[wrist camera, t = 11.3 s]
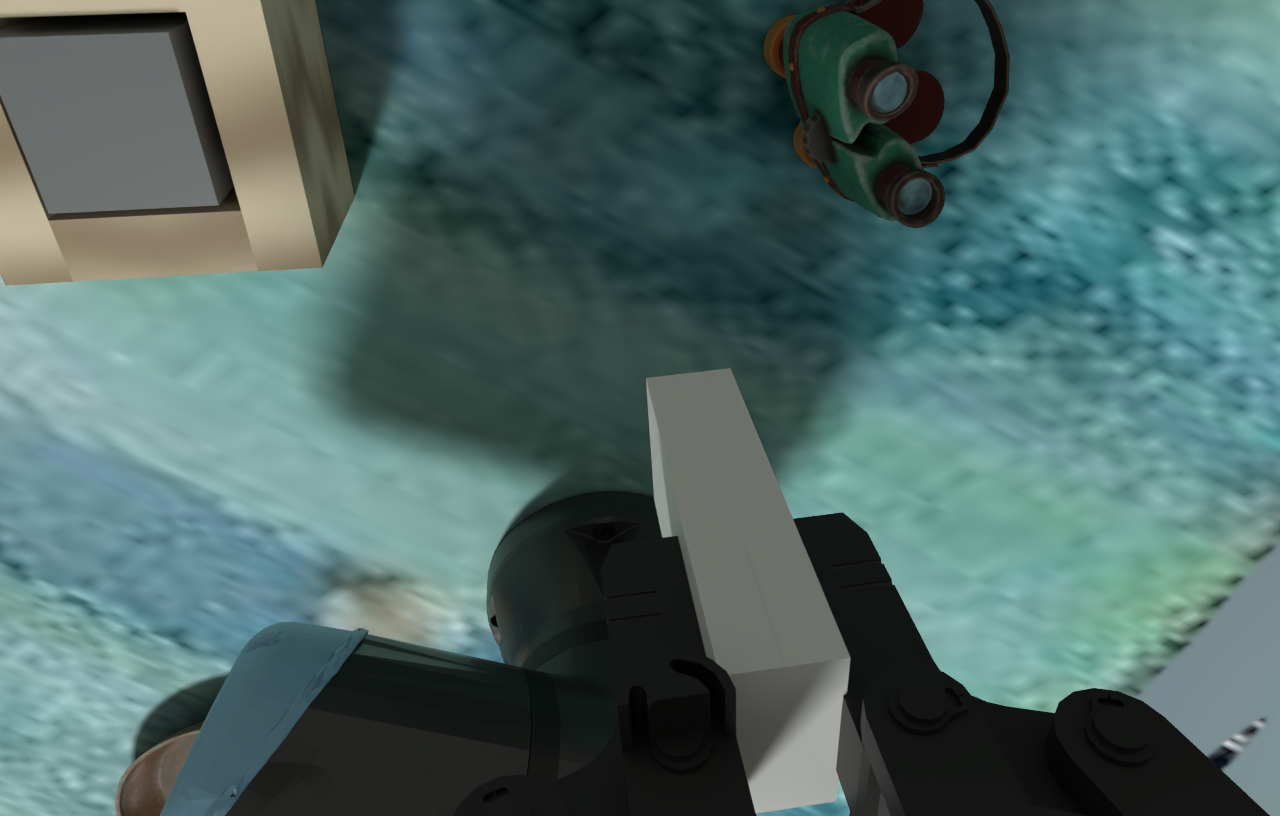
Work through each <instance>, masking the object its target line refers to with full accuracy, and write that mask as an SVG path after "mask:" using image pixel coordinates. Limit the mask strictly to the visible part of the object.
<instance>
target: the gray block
mask: <svg viewBox="0 0 1280 816" xmlns="http://www.w3.org/2000/svg"><path fill="white" fill-rule="evenodd" d="M0 96H1V98H2V100H3V103H4V105H5V108H6V110H7V113H8V115H9V118H10V120H11V122H12V125H13V127H14V130H15V132H16V135H17V137H18V140H19V142H20V145H21V147H22V149H23V152H24V154H25V157H26V159H27V162H28V164H29V167H30V169H31V172H32V174H33V176H34V179H35V181H36V184H37V186H38V189H39V191H40V194H41V196H42V199H43V201H44V203H45V206H46V208H47V211H48V213H49V214H56V213H76V212H96V211H116V210H136V209H156V208H176V207H196V206H216V205H219V204H220V203H221V202H222V201H223V199H224V198H225V197H226V196H227V194H228V193H229V192H230V191H231V189H232V188H233V187H234V183H233V180H232V176H231V173H230V169H229V165H228V162H227V158H226V155H225V151H224V147H223V144H222V140H221V137H220V133H219V130H218V126H217V122H216V119H215V115H214V112H213V108H212V104H211V101H210V97H209V94H208V90H207V86H206V83H205V79H204V76H203V72H202V69H201V65H200V61H199V58H198V54H197V51H196V47H195V43H194V40H193V36H192V33H191V29H190V25H189V22H188V18H187V15H186V12H165V13H134V14H102V15H71V16H39V17H32V18H29V19H27V20H24V21H22V22H19V23H16V24H14V25H11V26H9V27H6V28H3V29H1V30H0Z"/></svg>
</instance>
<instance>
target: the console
mask: <svg viewBox="0 0 1280 816" xmlns="http://www.w3.org/2000/svg"><path fill="white" fill-rule="evenodd" d="M165 12H186V15H187V18H188V22H189V25H190V29H191V33H192V36H193V40H194V43H195V47H196V51H197V54H198V58H199V61H200V65H201V69H202V72H203V76H204V79H205V83H206V86H207V90H208V94H209V97H210V101H211V104H212V108H213V112H214V115H215V119H216V122H217V126H218V130H219V133H220V137H221V140H222V144H223V147H224V151H225V155H226V158H227V162H228V165H229V169H230V173H231V176H232V180H233V183H234V187H233V188H232V189H231V191H230V192H229V193H228V194H227V196H226V197H225V198H224V199H223V201H222V202H221V203H220V204H219V205H216V206H196V207H176V208H156V209H136V210H116V211H96V212H76V213H56V214H49V213H48V211H47V208H46V206H45V203H44V201H43V199H42V196H41V194H40V191H39V189H38V186H37V184H36V181H35V179H34V176H33V174H32V172H31V169H30V167H29V164H28V162H27V159H26V157H25V154H24V152H23V149H22V147H21V145H20V142H19V140H18V137H17V135H16V132H15V130H14V127H13V125H12V122H11V120H10V118H9V115H8V113H7V110H6V108H5V105H4V103H3V100H2V98H1V96H0V274H1V277H2V279H3V281H4V283H5V285H20V284H37V283H55V282H73V281H90V280H108V279H126V278H144V277H161V276H179V275H197V274H214V273H232V272H250V271H268V270H285V269H303V268H321V267H323V265H324V263H325V261H326V259H327V256H328V254H329V252H330V250H331V248H332V245H333V243H334V241H335V239H336V237H337V234H338V232H339V230H340V228H341V226H342V223H343V221H344V219H345V217H346V215H347V213H348V210H349V208H350V206H351V204H352V202H353V199H354V192H353V187H352V182H351V177H350V172H349V167H348V162H347V157H346V152H345V147H344V142H343V137H342V132H341V127H340V122H339V117H338V112H337V107H336V102H335V97H334V92H333V87H332V83H331V78H330V73H329V68H328V63H327V58H326V53H325V48H324V43H323V38H322V33H321V28H320V23H319V18H318V13H317V8H316V3H315V0H0V30H1V29H3V28H6V27H9V26H11V25H14V24H16V23H19V22H22V21H24V20H27V19H29V18H32V17H39V16H71V15H102V14H134V13H165Z"/></svg>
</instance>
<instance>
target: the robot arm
mask: <svg viewBox="0 0 1280 816" xmlns="http://www.w3.org/2000/svg"><path fill="white" fill-rule="evenodd" d="M646 387H647V402H648V416H649V431H650V445H651V460H652V474H653V489H654V498H652V497H649V496H644V495H639V494H633V493H623V492H603V493H593V494H586V495H581V496H576V497H572V498H568V499H565V500H562V501H559V502H557V503H554V504H551V505H549V506H547V507H545V508H543V509H541V510H539V511H537V512H535V513H534V514H532V515H531V516H529V517H528V518H526V519H525V520H523V521H522V522H521V523H520V524H518V525H517V526H516V527H515V528H514V529H513V530H512V531H511V532H510V533H509V534H508V535H507V536H506V537H505V539H504V540H503V541H502V543H501V544H500V545H499V547H498V549H497V550H496V552H495V554H494V556H493V559H492V561H491V564H490V568H489V572H488V581H487V604H486V605H487V615H488V621H489V625H490V628H491V630H492V633H493V636H494V638H495V640H496V642H497V644H498V645H499V647H500V651H501V655H502V658H503V661H504V663H505V664H504V663H499V662H494V661H490V660H485V659H480V658H476V657H471V656H466V655H462V654H457V653H452V652H448V651H443V650H438V649H434V648H429V647H424V646H420V645H415V644H410V643H406V642H401V641H397V640H392V639H387V638H383V637H378V636H373V635H369V634H368V630H365V629H362V628H358V629H356V630H354V631H348V630H342V629H336V628H329V627H323V626H317V625H311V624H305V623H298V622H282V623H277V624H274V625H271V626H269V627H267V628H265V629H263V630H261V631H260V632H258V633H257V634H256V635H255V636H254V637H253V638H252V639H251V640H250V641H249V642H248V643H247V644H246V646H245V647H244V648H243V650H242V652H241V653H240V655H239V657H238V658H237V660H236V662H235V664H234V665H233V667H232V669H231V671H230V673H229V675H228V676H227V678H226V680H225V682H224V684H223V686H222V688H221V690H220V692H219V694H218V695H217V697H216V699H215V701H214V703H213V705H212V707H211V709H210V711H209V713H208V715H207V717H206V719H205V721H204V723H203V725H202V727H201V729H200V731H199V733H198V735H197V737H196V739H195V741H194V743H193V745H192V747H191V749H190V751H189V754H188V756H187V758H186V760H185V762H184V764H183V766H182V768H181V770H180V772H179V775H178V777H177V779H176V781H175V783H174V785H173V787H172V789H171V791H170V794H169V796H168V798H167V800H166V803H165V805H164V807H163V809H162V812H161V814H160V816H756V813H762V812H768V811H775V810H782V809H788V808H795V807H802V806H808V805H815V804H822V803H828V802H835V801H836V797H837V787H838V777H839V780H840V783H841V786H842V789H843V792H844V794H845V797H846V800H847V803H848V806H849V809H850V815H849V816H1270V815H1268V814H1267V813H1266V812H1265V811H1264V810H1263V809H1262V808H1261V807H1260V806H1259V805H1258V804H1257V803H1255V801H1253V800H1252V799H1251V798H1250V797H1249V796H1248V795H1247V794H1246V793H1245V792H1244V791H1243V790H1242V789H1241V788H1240V787H1239V786H1237V785H1236V784H1235V783H1234V782H1233V781H1232V780H1231V779H1230V778H1229V777H1228V776H1227V775H1226V774H1225V773H1224V772H1223V771H1221V770H1220V769H1219V768H1218V767H1217V766H1216V765H1215V764H1214V763H1213V762H1212V761H1211V760H1210V759H1209V758H1208V757H1206V756H1205V755H1204V754H1203V753H1202V752H1201V751H1200V750H1199V749H1198V748H1197V747H1196V746H1195V745H1194V744H1193V743H1191V742H1190V741H1189V740H1188V739H1187V738H1186V737H1185V736H1184V735H1183V734H1182V733H1181V732H1180V731H1178V729H1177V728H1175V727H1174V726H1173V725H1172V724H1171V723H1170V722H1169V721H1168V720H1167V719H1166V718H1165V717H1164V716H1162V715H1161V714H1159V713H1158V712H1156V711H1155V710H1154V709H1152V708H1151V707H1150V706H1148V705H1147V704H1146V703H1144V702H1143V701H1141V700H1138V699H1136V698H1133V697H1131V696H1128V695H1126V694H1123V693H1121V692H1119V691H1112V690H1105V689H1097V688H1092V689H1086V690H1081V691H1076V692H1073V693H1071V694H1070V695H1069V696H1067V697H1066V698H1064V699H1063V700H1062V701H1060V702H1059V704H1058V707H1057V710H1056V712H1055V713H1049V712H1042V711H1035V710H1028V709H1021V708H1014V707H1007V706H1002V705H998V704H993V703H989V702H986V701H983V700H981V699H979V698H976V697H974V696H971V695H970V694H969V692H968V691H967V690H966V689H965V687H964V686H963V685H962V684H961V683H959V682H958V681H956V680H955V679H953V678H952V677H950V676H949V675H947V674H946V673H944V672H941V671H940V670H939V668H938V667H937V665H936V664H935V662H934V661H933V659H932V657H931V655H930V653H929V651H928V649H927V647H926V645H925V643H924V642H923V640H922V638H921V636H920V634H919V632H918V630H917V628H916V626H915V624H914V622H913V620H912V618H911V616H910V614H909V612H908V611H907V609H906V607H905V605H904V603H903V601H902V599H901V597H900V595H899V593H898V591H897V589H896V587H895V585H892V580H891V578H890V576H889V574H888V572H887V570H886V568H885V566H884V564H882V563H881V558H880V556H879V554H878V552H877V550H876V548H875V547H874V545H873V543H872V541H871V539H870V537H869V535H868V533H867V532H866V531H864V530H863V529H862V528H861V527H860V526H858V525H857V524H856V523H855V522H854V521H852V520H851V519H850V518H849V517H848V516H846V515H845V514H844V513H835V514H827V515H819V516H812V517H804V518H796V519H793V518H792V515H791V513H790V511H789V508H788V506H787V503H786V501H785V499H784V496H783V494H782V491H781V489H780V487H779V484H778V482H777V479H776V477H775V474H774V472H773V470H772V467H771V465H770V462H769V460H768V458H767V455H766V453H765V450H764V448H763V446H762V443H761V441H760V438H759V436H758V433H757V431H756V429H755V426H754V424H753V421H752V419H751V417H750V414H749V412H748V409H747V407H746V405H745V402H744V400H743V397H742V395H741V393H740V390H739V388H738V385H737V383H736V380H735V378H734V376H733V373H732V371H731V368H727V369H719V370H710V371H701V372H693V373H684V374H675V375H667V376H658V377H650V378H646Z"/></svg>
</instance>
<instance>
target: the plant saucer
mask: <svg viewBox="0 0 1280 816" xmlns="http://www.w3.org/2000/svg"><path fill="white" fill-rule="evenodd" d="M203 723H204V721H202V722H199V723H196V724H194V725H191V726H188V727H186V728H184V729H182V730H180V731H178V732H176V733H174V734H172V735H170V736H168V737H167V738H165V739H163V740H162V741H160V742H158V743H157V744H155V745H154V746H153V747H151V748H150V749H148V750H147V751H146V752H145V753H143V754H142V755H141V756H140V757H139V758H137V759H136V760H135V761H134V762H133V763H132V764H131V765H130V766H129V767H128V769H127V770H126V771H125V773H124V774H123V776H122V778H121V780H120V782H119V784H118V787H117V791H116V798H115V808H116V813H117V816H160V814H161V812H162V809H163V807H164V805H165V803H166V800H167V798H168V796H169V794H170V791H171V789H172V787H173V785H174V783H175V781H176V779H177V777H178V775H179V772H180V770H181V768H182V766H183V764H184V762H185V760H186V758H187V756H188V754H189V751H190V749H191V747H192V745H193V743H194V741H195V739H196V737H197V735H198V733H199V731H200V729H201V727H202V725H203Z"/></svg>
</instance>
